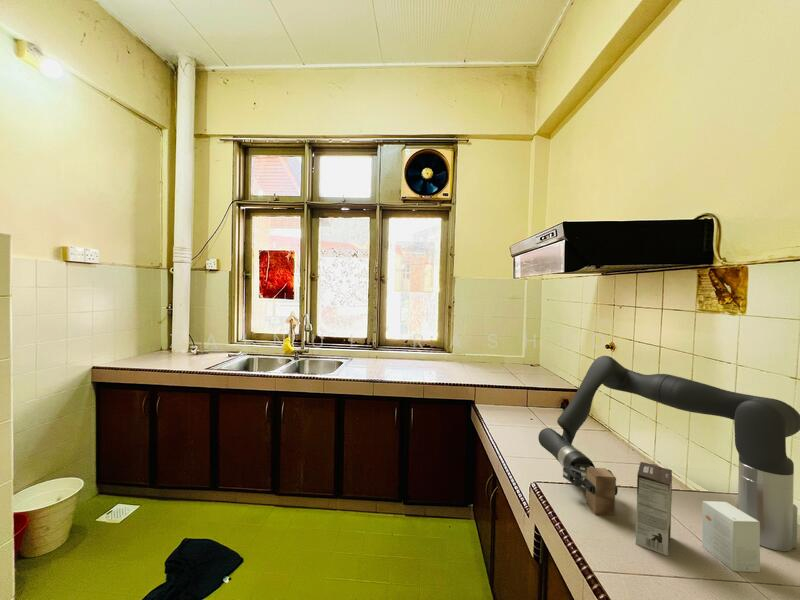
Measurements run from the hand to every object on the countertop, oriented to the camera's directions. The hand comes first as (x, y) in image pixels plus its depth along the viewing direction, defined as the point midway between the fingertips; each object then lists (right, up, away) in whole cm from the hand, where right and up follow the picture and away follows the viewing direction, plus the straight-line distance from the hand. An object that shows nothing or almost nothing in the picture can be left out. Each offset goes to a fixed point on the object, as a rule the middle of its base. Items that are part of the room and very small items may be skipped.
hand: (604, 491), depth 93 cm
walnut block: (0, -6, +2) cm, 6 cm away
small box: (+18, -7, -16) cm, 25 cm away
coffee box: (+5, -6, -10) cm, 13 cm away
